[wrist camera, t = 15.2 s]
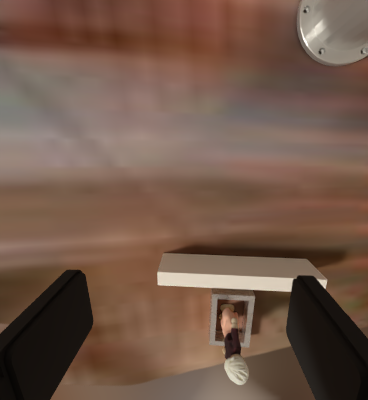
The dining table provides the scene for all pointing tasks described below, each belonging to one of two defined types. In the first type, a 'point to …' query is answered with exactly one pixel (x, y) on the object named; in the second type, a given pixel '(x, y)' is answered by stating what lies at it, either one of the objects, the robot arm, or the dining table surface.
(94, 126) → the dining table surface
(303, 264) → the white long flat block
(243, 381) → the grandmother figurine
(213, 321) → the grey hollow rectangular frame
